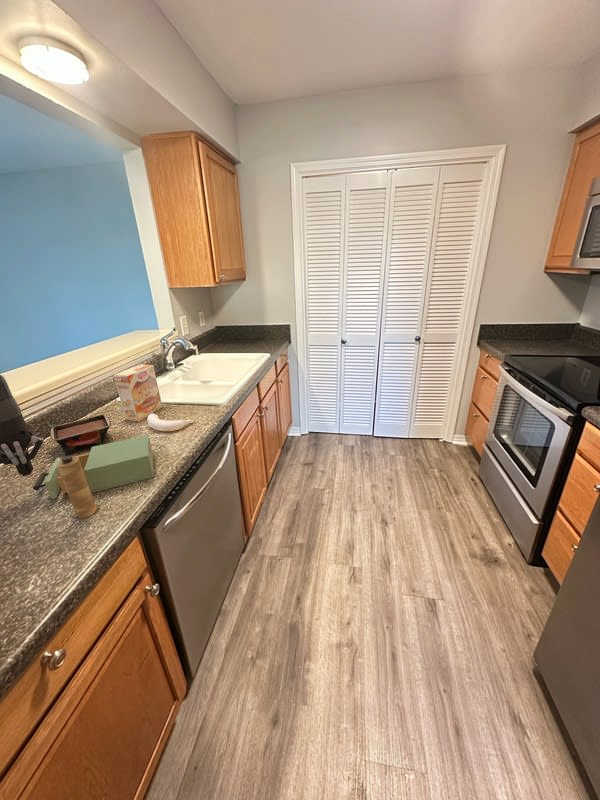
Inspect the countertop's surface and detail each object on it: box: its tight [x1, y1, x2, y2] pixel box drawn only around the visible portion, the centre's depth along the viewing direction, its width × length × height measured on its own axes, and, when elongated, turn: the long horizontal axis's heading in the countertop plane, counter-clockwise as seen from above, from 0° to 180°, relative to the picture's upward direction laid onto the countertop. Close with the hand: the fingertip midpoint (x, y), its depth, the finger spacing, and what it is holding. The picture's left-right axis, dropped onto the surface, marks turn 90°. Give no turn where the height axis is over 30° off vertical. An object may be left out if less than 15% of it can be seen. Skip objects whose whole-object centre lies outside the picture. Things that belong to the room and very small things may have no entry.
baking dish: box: [49, 413, 112, 456], centre depth 114 cm, size 14×18×10 cm
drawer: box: [32, 452, 90, 500], centre depth 91 cm, size 18×13×5 cm
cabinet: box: [84, 434, 155, 494], centre depth 96 cm, size 16×14×7 cm
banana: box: [146, 413, 195, 432], centre depth 126 cm, size 5×19×15 cm
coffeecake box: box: [113, 364, 163, 422], centre depth 134 cm, size 15×7×20 cm, turn 164°
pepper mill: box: [57, 455, 98, 519], centre depth 78 cm, size 4×4×16 cm
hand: (27, 473), depth 87 cm, fingers closed
